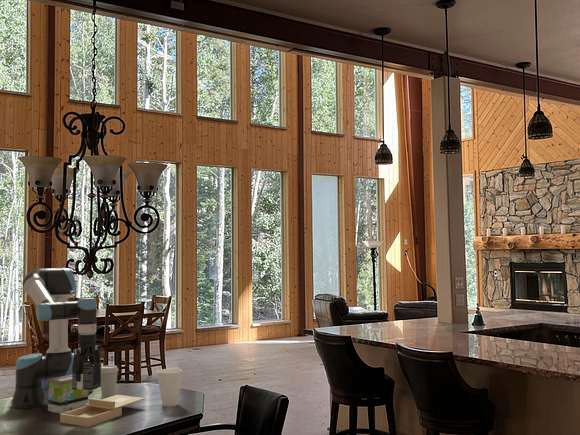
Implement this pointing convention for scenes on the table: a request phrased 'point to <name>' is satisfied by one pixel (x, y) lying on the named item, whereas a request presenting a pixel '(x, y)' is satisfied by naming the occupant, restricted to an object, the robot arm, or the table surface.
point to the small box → (89, 376)
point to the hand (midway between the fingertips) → (86, 387)
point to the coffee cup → (108, 380)
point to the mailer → (89, 415)
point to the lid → (113, 401)
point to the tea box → (65, 395)
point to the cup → (169, 385)
